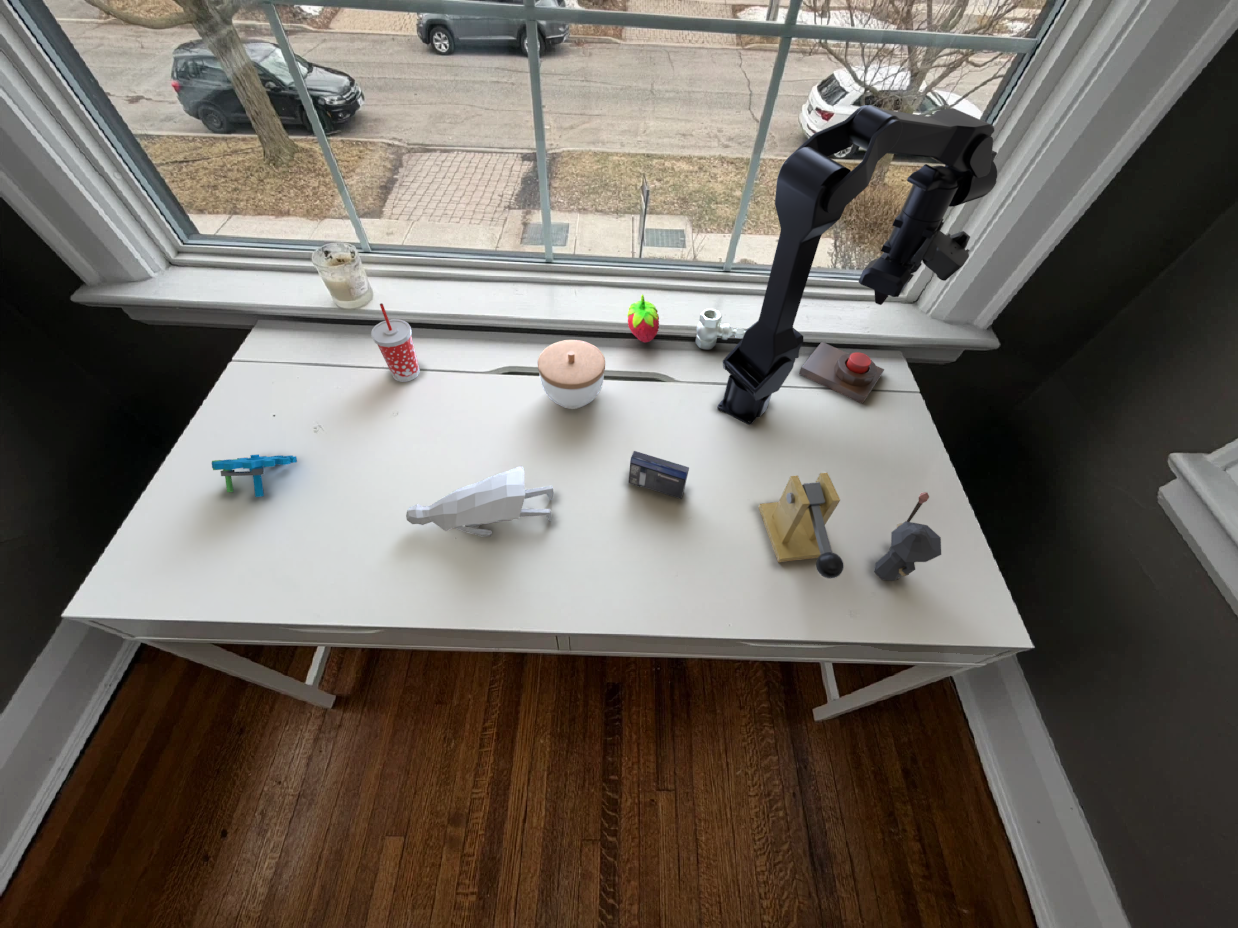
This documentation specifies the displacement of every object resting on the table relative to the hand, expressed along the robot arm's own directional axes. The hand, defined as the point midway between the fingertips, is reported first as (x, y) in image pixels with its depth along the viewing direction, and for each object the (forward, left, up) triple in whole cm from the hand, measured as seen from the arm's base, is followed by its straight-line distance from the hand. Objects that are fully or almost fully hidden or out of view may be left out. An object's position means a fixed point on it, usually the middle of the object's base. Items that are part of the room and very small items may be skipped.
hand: (878, 303), depth 92 cm
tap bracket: (+7, -42, -12) cm, 44 cm away
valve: (-20, -12, -12) cm, 26 cm away
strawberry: (-33, -21, -12) cm, 41 cm away
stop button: (+2, -6, -9) cm, 11 cm away
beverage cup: (-60, -54, -12) cm, 81 cm away
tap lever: (+10, -44, -6) cm, 46 cm away
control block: (0, -6, -12) cm, 13 cm away
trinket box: (-34, -40, -12) cm, 54 cm away
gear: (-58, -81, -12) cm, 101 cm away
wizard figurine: (+20, -38, -12) cm, 45 cm away
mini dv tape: (-12, -47, -12) cm, 50 cm away
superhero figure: (-28, -66, -12) cm, 73 cm away
